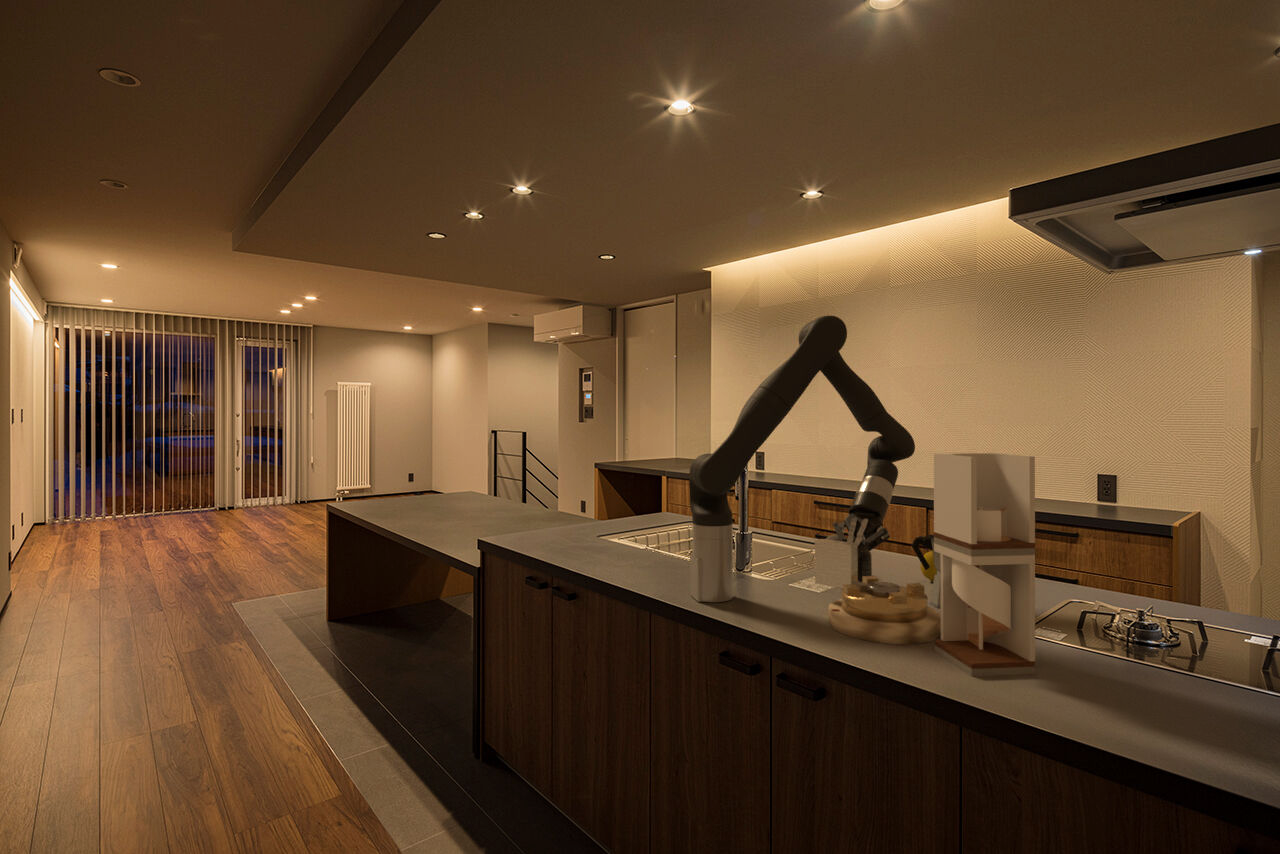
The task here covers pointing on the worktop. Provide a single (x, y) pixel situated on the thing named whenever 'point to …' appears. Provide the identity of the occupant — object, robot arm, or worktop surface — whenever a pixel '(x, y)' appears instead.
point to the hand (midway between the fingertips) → (848, 562)
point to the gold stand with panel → (866, 586)
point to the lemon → (930, 571)
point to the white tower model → (986, 561)
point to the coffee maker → (929, 543)
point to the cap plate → (885, 627)
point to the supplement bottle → (864, 565)
